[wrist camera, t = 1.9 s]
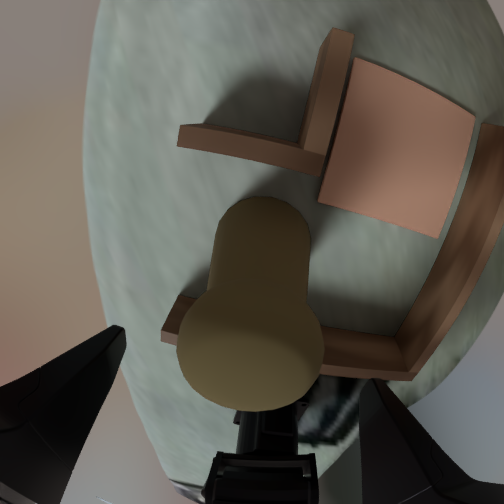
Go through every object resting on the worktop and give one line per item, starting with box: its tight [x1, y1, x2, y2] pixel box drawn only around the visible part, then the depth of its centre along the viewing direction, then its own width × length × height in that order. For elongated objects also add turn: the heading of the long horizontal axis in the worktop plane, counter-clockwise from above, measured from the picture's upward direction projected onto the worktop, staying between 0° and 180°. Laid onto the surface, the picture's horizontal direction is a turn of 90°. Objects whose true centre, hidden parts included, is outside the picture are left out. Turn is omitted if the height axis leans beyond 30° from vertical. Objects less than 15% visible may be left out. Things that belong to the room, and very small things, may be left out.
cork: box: [176, 196, 325, 412], centre depth 13 cm, size 6×6×11 cm
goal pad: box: [317, 57, 475, 239], centre depth 15 cm, size 9×9×1 cm
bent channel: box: [161, 28, 504, 381], centre depth 15 cm, size 19×18×4 cm
